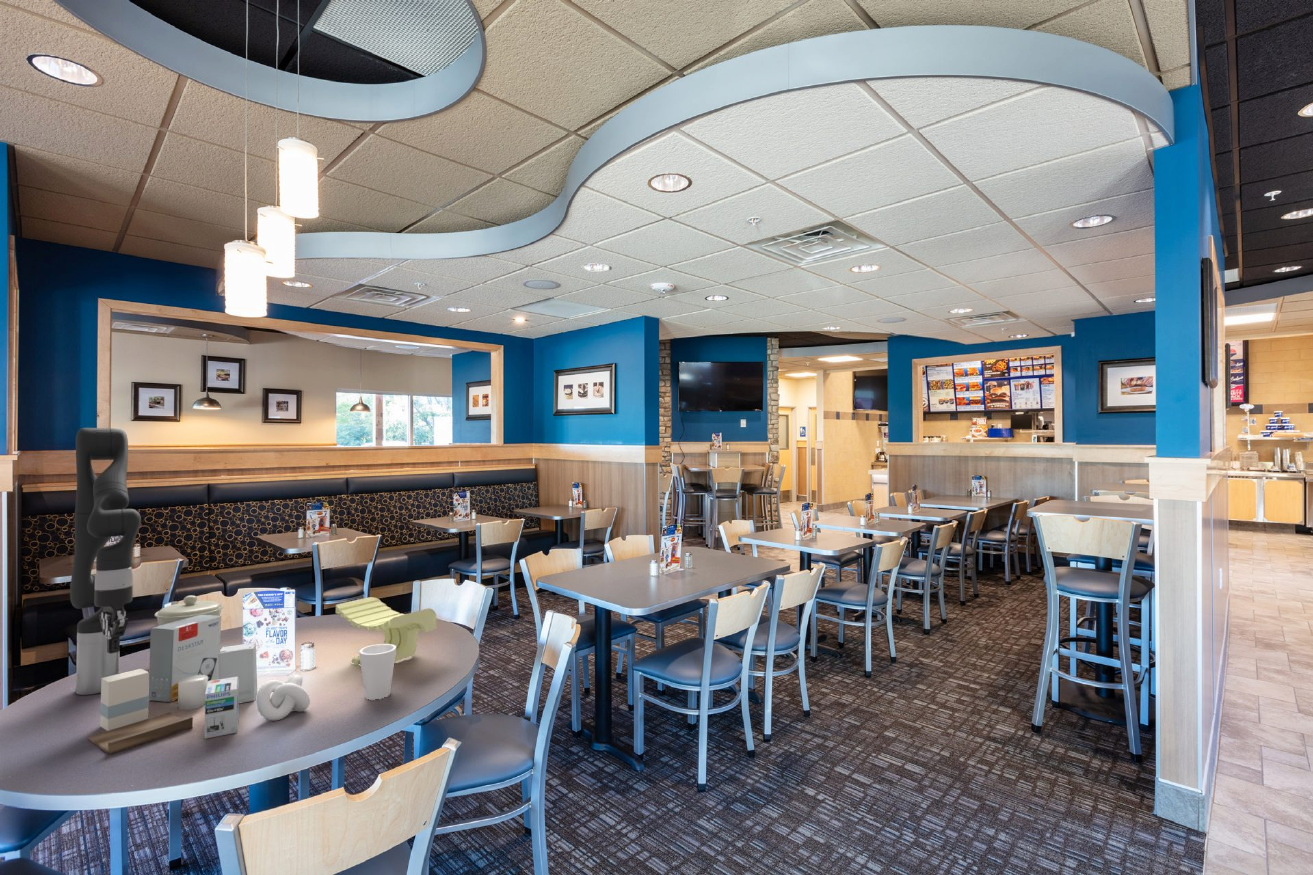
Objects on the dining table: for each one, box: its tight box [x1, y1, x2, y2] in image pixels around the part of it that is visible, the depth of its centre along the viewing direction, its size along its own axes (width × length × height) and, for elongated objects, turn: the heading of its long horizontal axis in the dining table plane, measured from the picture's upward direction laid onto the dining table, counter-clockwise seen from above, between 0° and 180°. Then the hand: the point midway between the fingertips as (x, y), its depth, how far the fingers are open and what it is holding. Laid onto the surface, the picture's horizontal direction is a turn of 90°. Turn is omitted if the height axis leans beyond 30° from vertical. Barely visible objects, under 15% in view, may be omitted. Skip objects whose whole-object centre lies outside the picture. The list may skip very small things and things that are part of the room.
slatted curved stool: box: [335, 596, 437, 666], centre depth 203 cm, size 30×16×18 cm, turn 59°
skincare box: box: [218, 642, 258, 704], centre depth 170 cm, size 8×6×15 cm
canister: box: [154, 595, 224, 626], centre depth 203 cm, size 18×18×21 cm
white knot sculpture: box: [256, 674, 311, 722], centre depth 162 cm, size 11×12×9 cm
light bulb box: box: [204, 677, 240, 740], centre depth 153 cm, size 11×7×11 cm, turn 33°
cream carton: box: [99, 668, 150, 731], centre depth 156 cm, size 5×8×12 cm, turn 147°
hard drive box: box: [148, 615, 222, 703], centre depth 177 cm, size 16×8×20 cm, turn 168°
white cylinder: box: [177, 675, 208, 711], centre depth 167 cm, size 6×6×7 cm
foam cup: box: [358, 643, 396, 701], centre depth 174 cm, size 10×9×13 cm
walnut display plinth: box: [88, 712, 194, 755], centre depth 150 cm, size 14×16×3 cm
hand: (113, 652), depth 161 cm, fingers closed
